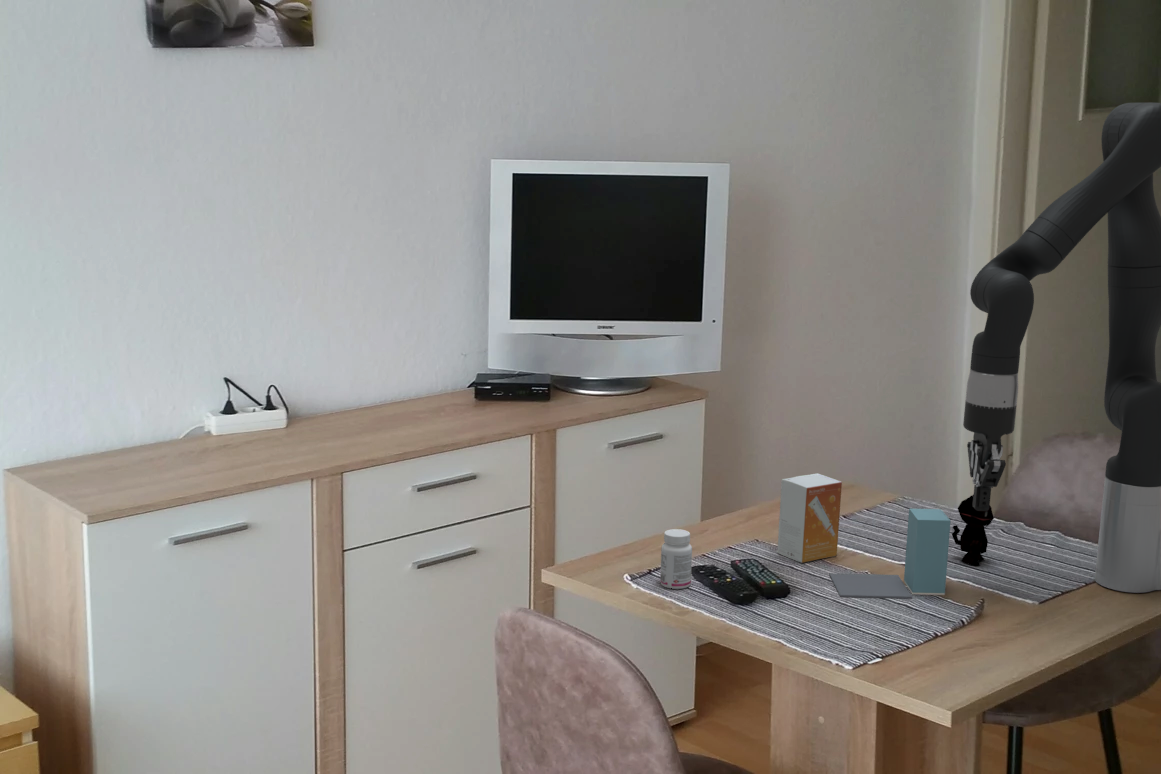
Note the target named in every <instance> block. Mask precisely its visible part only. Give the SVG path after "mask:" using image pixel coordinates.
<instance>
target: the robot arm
mask: <svg viewBox="0 0 1161 774" xmlns="http://www.w3.org/2000/svg"><path fill="white" fill-rule="evenodd" d="M1101 150H1102V151H1101V153H1102V163H1101V164H1100V165H1099V166H1098V167H1097V168H1095V170H1093V171H1092V172H1091V173H1090V174H1089V175H1088V176H1086V177H1085V178H1084V179H1083V180H1081V181H1080V182H1078V183H1077V184H1076V185H1074V186H1073V187H1071V188H1070V189H1068V190H1067V191H1066V192H1064V193H1063V194H1061V195H1060V196H1059V197H1057V198H1056V199H1055V200H1054V201H1053V202H1051V203H1050V204H1048V206H1047V207H1046V208H1045V209H1044V210H1043V211H1042V212H1041V213H1039V215H1038V216H1037V218H1036V219H1034V221H1033V222H1032V223H1031V224H1030V225H1029V226H1028V227H1027V228H1026V230H1025V231H1024V232H1023V233H1022V234H1021V236H1020V237H1019V238H1018V239H1017V240H1016V241H1015V242H1013V243H1012V244H1010V245H1009V246H1008V247H1006V248H1005V249H1003V250H1002V251H1001V252H1000V253H999V254H997V255H995V257H994V258H992V259H991V260H990V261H989V262H987V263H986V264H985V265H984V266H983V267H982V268H981V269H980V270H979V272H978V273H977V274H976V276H975V277H974V278H973V281H972V283H971V286H970V292H969V294H970V299H971V302H972V303H973V305H974V306H975V307H976V308H977V309H978V310H980V311H981V312H984V313H986V314H987V318H986V322H985V324H984V325H985V326H984V330H983V331H980V332H978V333H976V335H975V336H974V339H973V341H972V342H973V343H972V346H971V347H972V348H971V357H970V367H969V368H970V370H969V375H968V379H967V383H966V394H965V403H964V415H963V428H964V429H965V430H967V431H969V432H971V433H973V437H972V439H971V440H970V441H968V442H967V444H966V448H967V456H968V465H969V467H968V468H969V475H970V478H972V484H973V485H974V487H973V494H974V495H973V494H972V495H973V507H974V508H975V510H977V511H988V510H989V506H991V497H992V495H991V494H992V493H991V491H992V489H993V488H996V487H997V486H998V484H999V482H1000V479H1001V477H1002V475H1003V472H1004V471H1005V468H1006V460H1005V459H1001V457H1002V456H1003V453H1004V446H1003V444H1002V437H1003V436H1004V435H1009V434H1012V433H1014V430H1015V425H1016V413H1017V406H1018V395H1019V367H1020V360H1021V346H1022V342H1023V340H1024V339H1025V336H1026V332H1027V330H1028V327H1029V324H1030V320H1031V317H1032V313H1033V310H1034V304H1035V295H1034V294H1035V293H1034V288H1033V285H1032V283H1031V281H1032V280H1033V279H1034V278H1035V277H1037V276H1040V275H1044V274H1049V273H1051V272H1052V271H1054V270H1055V269H1056V268H1057V267H1058V266H1060V265H1061V263H1062V262H1064V260H1065V259H1066V257H1067V256H1068V255H1070V253H1072V251H1073V250H1074V248H1075V247H1077V245H1078V244H1079V243H1080V242H1081V241H1082V240H1083V239H1084V237H1085V236H1086V235H1087V234H1088V233H1089V232H1090V231H1091V230H1092V229H1093V228H1094V227H1095V226H1096V224H1098V223H1099V222H1100V221H1101V220H1102V219H1103V218H1104V217H1105V216H1106V215H1107V294H1108V295H1107V296H1108V297H1107V299H1108V342H1109V343H1108V345H1109V346H1108V356H1107V357H1108V358H1107V369H1106V379H1105V386H1104V399H1103V400H1104V402H1103V403H1104V404H1103V405H1104V411H1105V414H1106V416H1107V417H1106V418H1108V420H1109V422H1110V423H1111V424H1112V425H1113V426H1114V427H1116V429H1118V430H1120V431H1121V435H1120V442H1119V449H1118V452H1117V454H1116V455H1113V456H1111V457H1109V458H1108V459H1107V461H1106V465H1105V473H1104V485H1103V492H1102V493H1103V494H1102V501H1101V502H1102V503H1101V513H1100V522H1099V523H1100V524H1099V533H1098V543H1097V553H1096V560H1095V561H1096V562H1095V573H1094V581H1095V582H1096V583H1097V584H1098V585H1100V586H1102V587H1104V588H1108V589H1111V590H1113V591H1118V592H1125V593H1133V594H1134V593H1135V594H1136V593H1137V594H1139V593H1142V594H1143V593H1149V592H1150V593H1151V592H1153V591H1161V382H1160V381H1158V378H1157V369H1156V344H1157V338H1158V336H1159V335H1158V334H1159V332H1160V328H1161V214H1160V211H1159V208H1158V206H1157V202H1156V198H1155V191H1154V173H1155V172H1156V171H1158V170H1159V169H1160V168H1161V102H1151V101H1150V102H1125V103H1123V104H1119V105H1117V106H1116V107H1115V108H1114V109H1112V110H1111V111H1110V113H1109V114H1108V115H1107V116H1106V119H1105V121H1104V122H1103V125H1102V132H1101Z"/></svg>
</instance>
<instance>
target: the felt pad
mask: <svg viewBox="0 0 1161 774" xmlns="http://www.w3.org/2000/svg"><path fill="white" fill-rule="evenodd" d="M829 578H830V579H831V582H832V583H833V585H834V587H835V589H836V591H837V593H838V595H839V598H869V599H870V598H873V599H876V598H877V599H908V600H909V599H913V596H912V593H911V591H910V590H909V588H908V587H907V585H906V584H905V582H904V581H903V580H902V578H901V577H900V576H899V574H879V573H836V572H835V573H832V572H831V573H830V572H829Z"/></svg>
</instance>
